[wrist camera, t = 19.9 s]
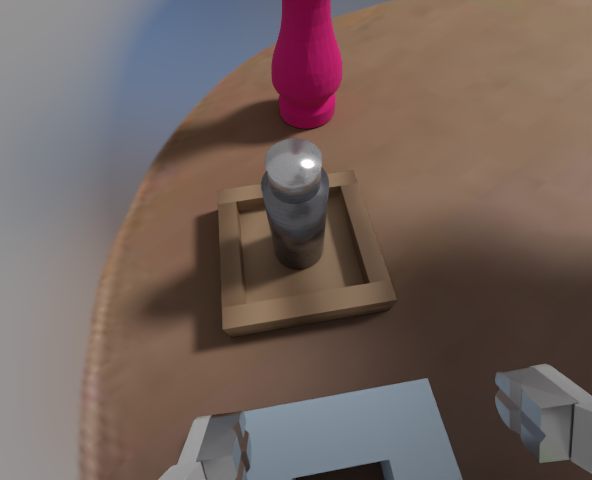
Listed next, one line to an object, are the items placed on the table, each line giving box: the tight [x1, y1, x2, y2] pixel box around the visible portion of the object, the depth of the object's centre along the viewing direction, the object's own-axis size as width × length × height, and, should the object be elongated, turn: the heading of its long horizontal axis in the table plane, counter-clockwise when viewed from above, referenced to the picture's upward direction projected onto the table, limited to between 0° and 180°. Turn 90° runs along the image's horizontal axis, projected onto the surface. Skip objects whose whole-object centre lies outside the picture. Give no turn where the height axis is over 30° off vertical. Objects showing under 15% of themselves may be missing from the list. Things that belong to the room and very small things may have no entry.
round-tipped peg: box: [261, 138, 329, 270], centre depth 20 cm, size 4×4×10 cm
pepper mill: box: [272, 0, 342, 129], centre depth 26 cm, size 7×7×20 cm
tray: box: [217, 170, 397, 337], centre depth 24 cm, size 12×12×2 cm
